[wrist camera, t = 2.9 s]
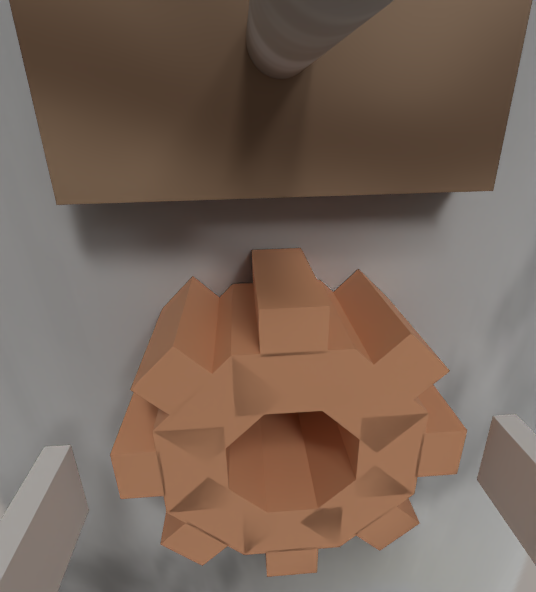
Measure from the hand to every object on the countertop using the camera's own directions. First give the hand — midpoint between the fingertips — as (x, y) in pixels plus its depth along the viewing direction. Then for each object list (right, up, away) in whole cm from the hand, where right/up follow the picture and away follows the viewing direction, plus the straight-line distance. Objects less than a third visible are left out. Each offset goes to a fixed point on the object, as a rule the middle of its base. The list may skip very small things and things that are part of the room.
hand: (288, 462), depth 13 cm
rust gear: (0, +2, +4) cm, 5 cm away
